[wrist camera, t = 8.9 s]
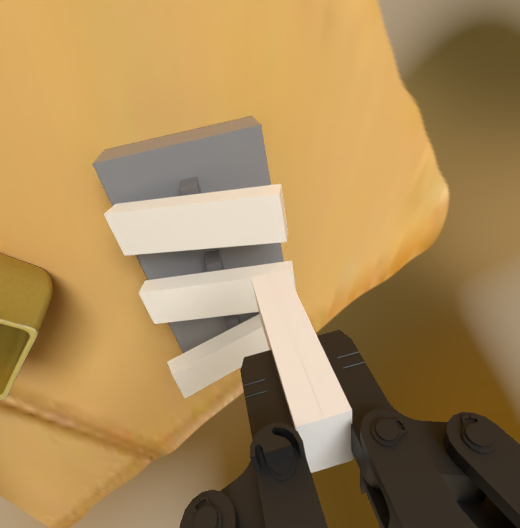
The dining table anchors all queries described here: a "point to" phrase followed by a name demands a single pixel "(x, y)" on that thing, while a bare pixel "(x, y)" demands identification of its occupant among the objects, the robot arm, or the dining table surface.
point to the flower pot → (20, 314)
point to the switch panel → (188, 183)
